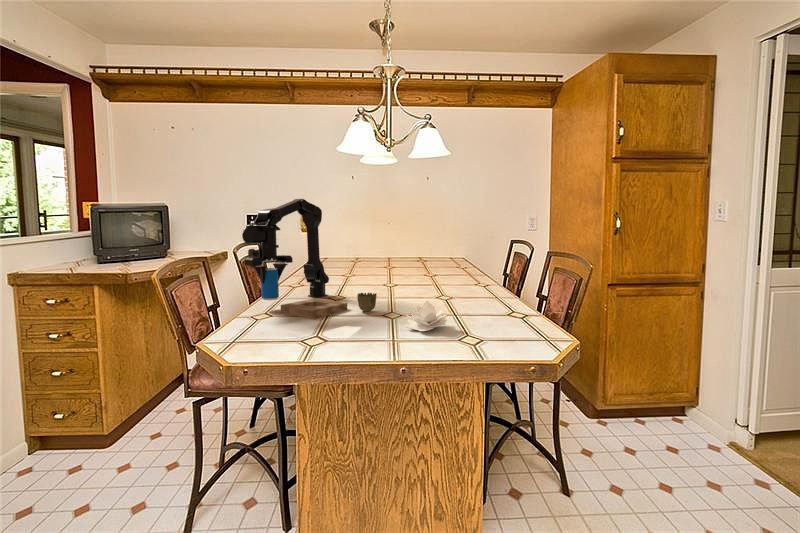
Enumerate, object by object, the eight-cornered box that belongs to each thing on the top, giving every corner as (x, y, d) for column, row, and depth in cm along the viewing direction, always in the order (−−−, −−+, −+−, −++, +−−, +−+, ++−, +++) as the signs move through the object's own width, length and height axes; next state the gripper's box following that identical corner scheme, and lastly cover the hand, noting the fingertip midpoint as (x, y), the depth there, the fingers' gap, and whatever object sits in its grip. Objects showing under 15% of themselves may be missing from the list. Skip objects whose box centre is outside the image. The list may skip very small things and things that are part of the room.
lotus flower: (398, 331, 144) (399, 304, 144) (412, 321, 159) (412, 297, 158) (441, 334, 140) (442, 307, 139) (451, 324, 154) (451, 299, 153)
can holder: (315, 306, 185) (315, 298, 184) (347, 311, 174) (347, 303, 174) (280, 313, 170) (280, 304, 170) (313, 320, 160) (313, 310, 159)
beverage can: (276, 300, 170) (275, 269, 168) (259, 300, 170) (258, 269, 169) (280, 297, 176) (280, 267, 175) (264, 297, 176) (263, 267, 175)
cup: (373, 316, 165) (373, 295, 164) (354, 315, 167) (354, 294, 166) (378, 312, 173) (378, 292, 172) (360, 312, 174) (360, 291, 173)
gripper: (275, 240, 183) (276, 278, 185) (234, 242, 168) (236, 283, 169) (293, 241, 176) (293, 280, 178) (253, 243, 161) (254, 286, 163)
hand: (269, 282), depth 172 cm, fingers closed on beverage can, 6 cm apart
